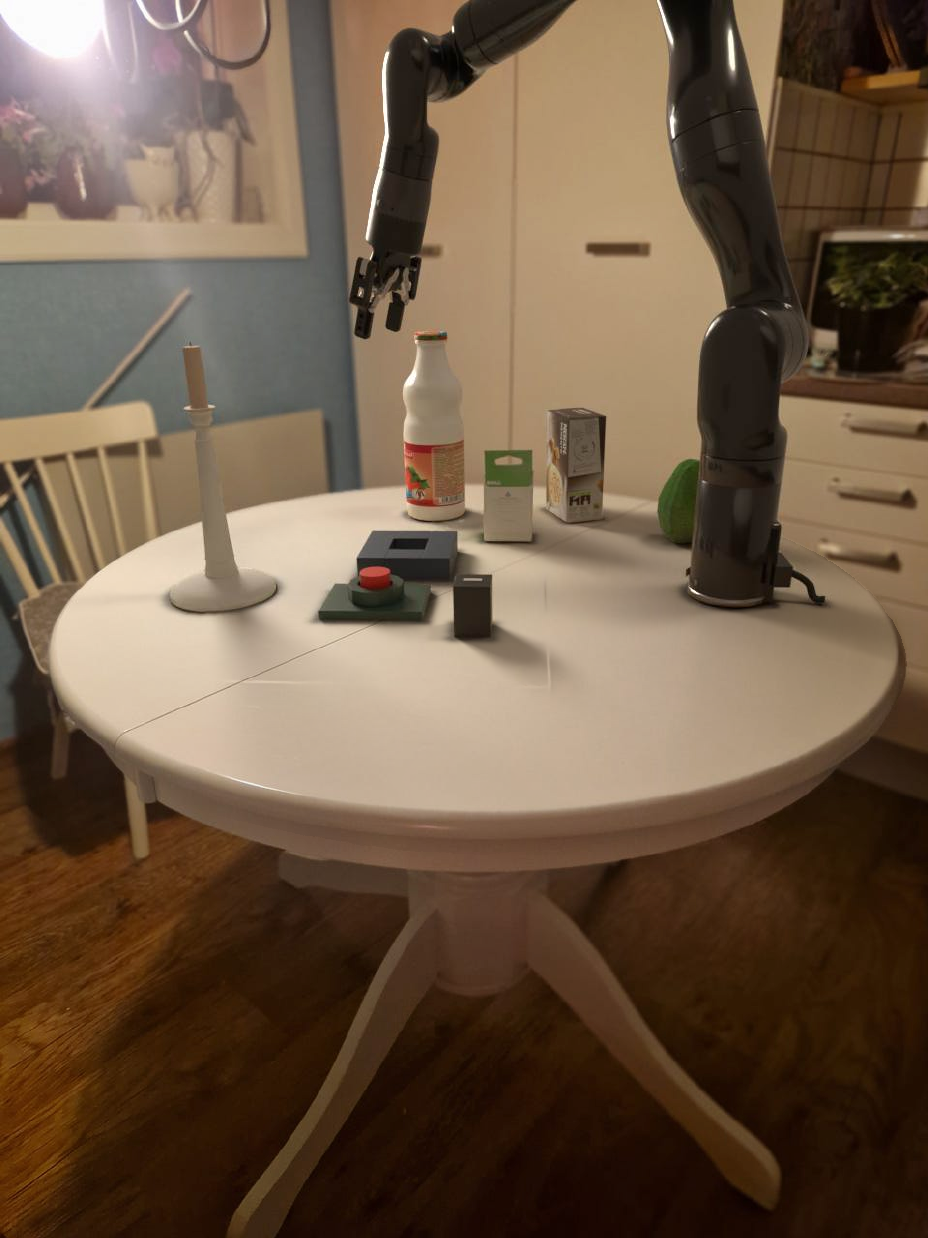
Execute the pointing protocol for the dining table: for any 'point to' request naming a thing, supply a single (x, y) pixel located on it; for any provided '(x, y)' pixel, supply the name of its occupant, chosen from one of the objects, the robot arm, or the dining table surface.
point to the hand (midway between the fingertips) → (377, 333)
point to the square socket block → (411, 553)
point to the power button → (375, 578)
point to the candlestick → (213, 519)
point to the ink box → (508, 496)
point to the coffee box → (575, 464)
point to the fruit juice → (433, 434)
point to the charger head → (472, 605)
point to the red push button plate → (376, 601)
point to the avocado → (679, 502)
